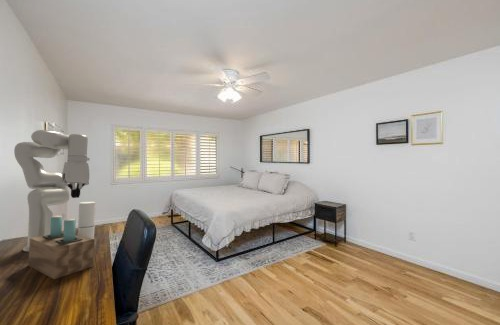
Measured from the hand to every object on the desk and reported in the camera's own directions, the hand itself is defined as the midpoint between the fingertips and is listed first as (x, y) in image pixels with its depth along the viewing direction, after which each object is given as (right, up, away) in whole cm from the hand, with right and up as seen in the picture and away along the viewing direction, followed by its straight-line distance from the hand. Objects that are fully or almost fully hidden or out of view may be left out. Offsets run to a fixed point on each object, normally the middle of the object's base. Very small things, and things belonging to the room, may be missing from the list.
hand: (75, 197), depth 110 cm
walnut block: (+1, -29, -10) cm, 31 cm away
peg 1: (-4, -20, -7) cm, 21 cm away
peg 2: (+7, -20, -12) cm, 24 cm away
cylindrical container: (-3, -30, +10) cm, 31 cm away
